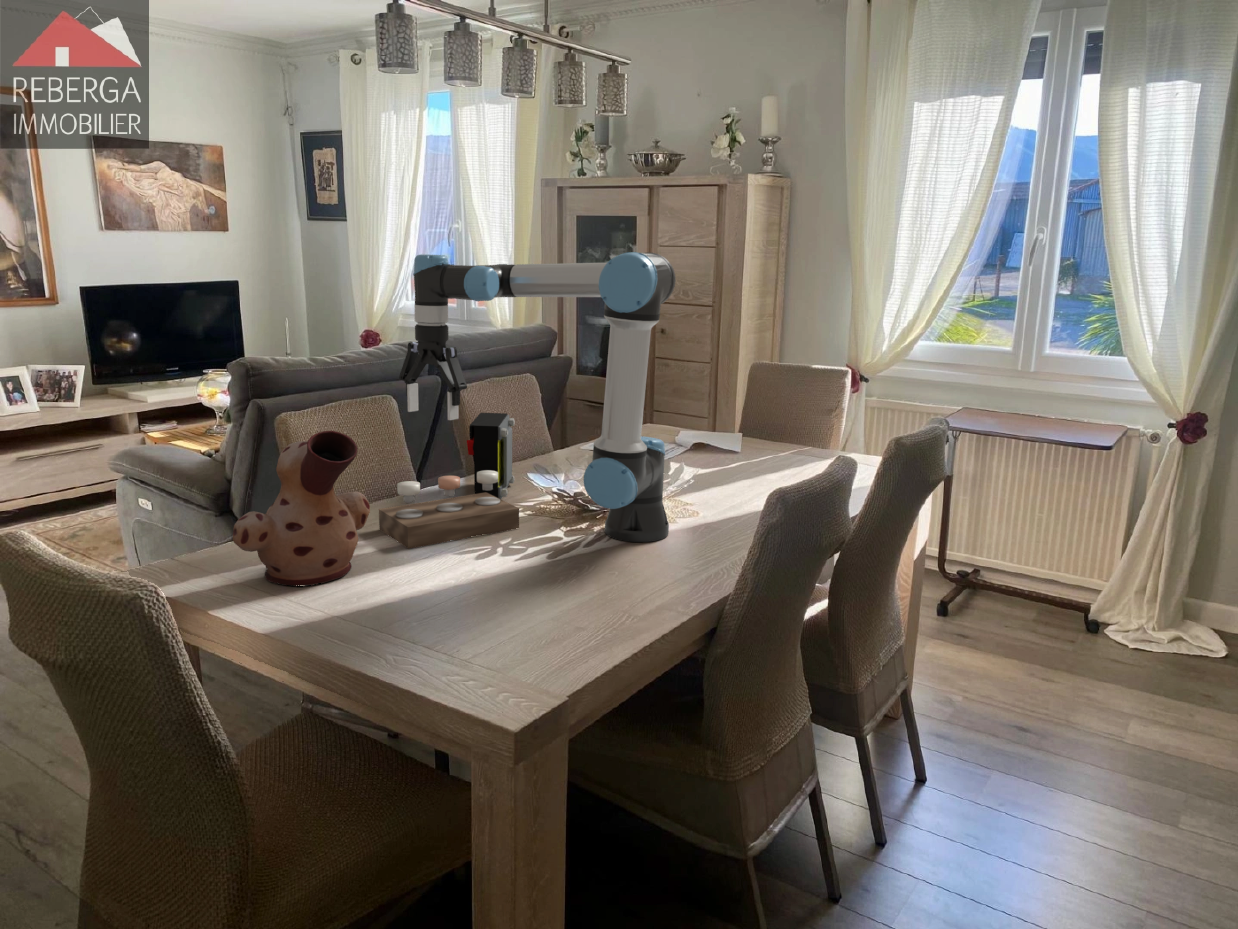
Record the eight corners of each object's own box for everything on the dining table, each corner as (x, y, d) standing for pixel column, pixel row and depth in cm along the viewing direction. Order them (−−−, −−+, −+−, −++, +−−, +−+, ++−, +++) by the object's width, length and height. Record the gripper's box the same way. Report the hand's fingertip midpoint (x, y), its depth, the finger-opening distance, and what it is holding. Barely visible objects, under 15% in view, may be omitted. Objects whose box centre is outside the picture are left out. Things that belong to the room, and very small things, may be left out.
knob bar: (519, 528, 218) (519, 506, 217) (408, 548, 202) (407, 525, 201) (486, 511, 231) (486, 490, 229) (379, 529, 214) (378, 506, 213)
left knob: (424, 502, 208) (423, 485, 207) (403, 505, 205) (402, 488, 204) (414, 496, 212) (414, 480, 211) (394, 500, 209) (393, 482, 208)
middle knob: (464, 496, 214) (463, 479, 213) (444, 499, 211) (444, 482, 210) (454, 491, 218) (454, 474, 217) (434, 493, 215) (434, 477, 214)
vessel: (332, 545, 203) (326, 411, 196) (408, 566, 192) (404, 424, 185) (217, 584, 179) (205, 433, 171) (296, 610, 168) (287, 450, 160)
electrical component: (506, 502, 240) (506, 426, 235) (467, 500, 240) (466, 425, 235) (515, 484, 257) (515, 413, 252) (478, 483, 257) (478, 412, 252)
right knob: (501, 490, 220) (501, 473, 219) (483, 493, 217) (483, 476, 216) (491, 485, 224) (491, 469, 223) (473, 488, 221) (473, 471, 220)
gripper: (482, 327, 207) (482, 420, 212) (407, 318, 221) (409, 405, 226) (458, 329, 201) (458, 425, 206) (382, 319, 215) (384, 409, 220)
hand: (432, 415), depth 216 cm, fingers open, 13 cm apart
